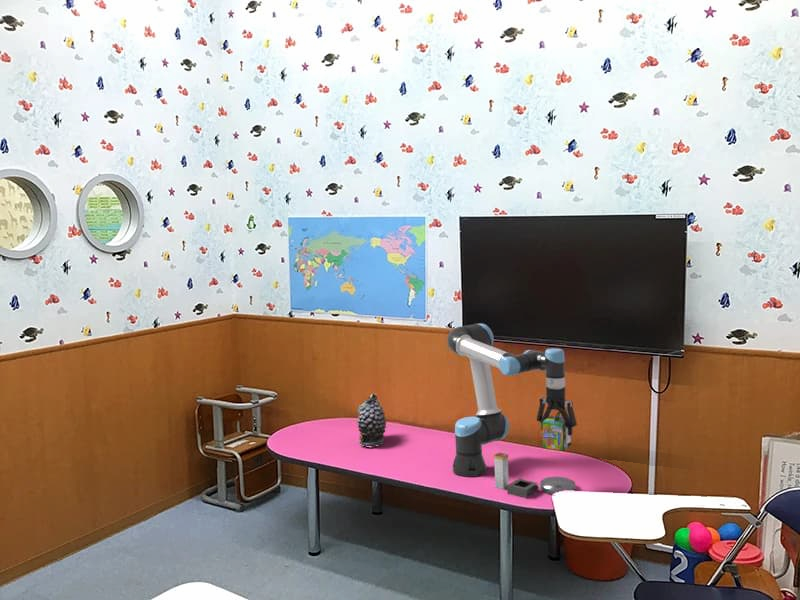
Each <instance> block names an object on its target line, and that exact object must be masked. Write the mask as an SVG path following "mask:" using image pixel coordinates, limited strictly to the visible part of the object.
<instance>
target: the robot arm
mask: <svg viewBox="0 0 800 600" xmlns="http://www.w3.org/2000/svg"><path fill="white" fill-rule="evenodd" d="M494 340H495V338H494V334H493V331H492V329H491V328H490V327H489V326H488V325H487V324H485V323H474V324H468V325H462V326H457V327H455V328H452V329H451V330H450V332H449V333H448V335H447V338H446V343H447V347H448V349H450V351H451V352H452V353H454V354H456V355H457V356H460V357H461V356H462V357H463V356H466V357H467V358H468V359H469V363H470V369H471V375H472V380H473V386H474V391H475V392H474V393H475V397H476V404H477V411H476V414H475V416H467V417H463V418H460V419H458V420H457V421H456V422H455V426H454V435H455V436H454V437H455V457H454V460H453V463H452V473H454V475H457V476H460V477H470V478H471V477H478V476H482V475H484V474H486V473H487V463H486V461H485V458H484V455H483V445H487V444H491V443H493V442H499V441H500V440H503V439H504V438H506V436H507V435H508V433H509V431H510V423H509V420H508V418H507V416H506V415H505V414H504V413H502V409H500V408H499V407H498V405H497V399H496V392H495V388H494V382H493V377H492V376H493V375H492V371H491V366H493V368H496V369H499V371H500V372H501V374H502V375H504V376H507V377H508V376H509V377H510V376H515V375H518V374H523V373H527V372H532V371H535V370H536V371H537V370H538V371H543V372H545V386H546V387H545V390H546V391H545V392H546V393H545V396H546V397H541V398H539V408H538V412H537V415H536V421H537V422H540V424H541V425H540V426H541V427H540V428H541V429H540V430H541V431H542V432H543V421H544V420H545V419H546V418H547V417H549V416H550V414H551V413H552V410H556V411H558V412H560V415H561V417H563V419H564V421H565V423H566V425H567V427H566V444H568V443H570V442H571V441H572V440H571V436H572V435H573V428H574V427H576V426H577V425H578V424H577V419H576V415H575V411H574V408H573V407H574V406H573V405H574V403H573V401H567V400H566V376H565V375H566V374H565V371H566V369H565V366H566V365H565V363H566V359H565V352H564V350H563V349H561V348H552V347H551V348H547V349H546V350H545V351H540V350H535V349H528V350H525V351H524V352H523V353H519V354H512V353H510V352H507V351H504V350H502V349H500V348H497V347H495V346H493V345H494ZM546 403H547V407H546ZM545 407H546V410H545ZM571 443H572V442H571Z"/></svg>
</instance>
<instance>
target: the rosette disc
mask: <svg viewBox="0 0 800 600" xmlns="http://www.w3.org/2000/svg"><path fill="white" fill-rule="evenodd" d="M539 485H540V486H539V487H540V491H541V492H543V493H544V494H547V495H549V496H553V495H552V494H553V493H555V492H559V491H563V490H575V491H576V482H575V481H574V480H573V479H571V478H568V477H563V476H550V477H545V478H543V479H541V480H540V484H539Z"/></svg>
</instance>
